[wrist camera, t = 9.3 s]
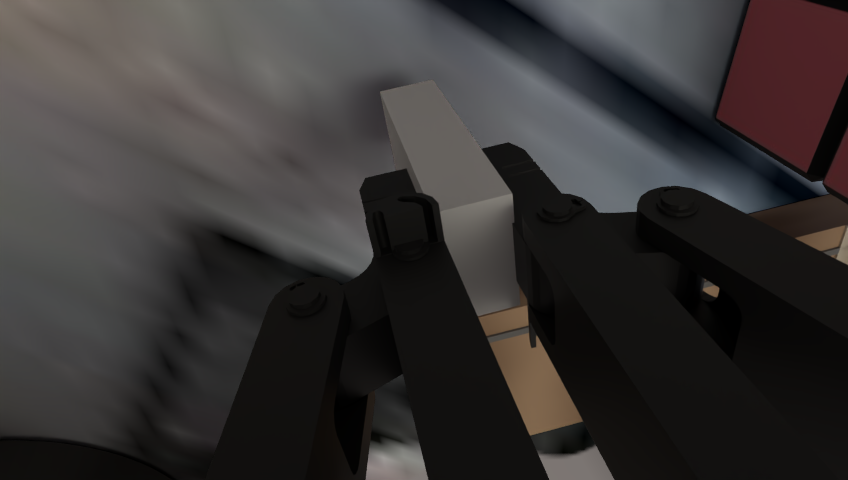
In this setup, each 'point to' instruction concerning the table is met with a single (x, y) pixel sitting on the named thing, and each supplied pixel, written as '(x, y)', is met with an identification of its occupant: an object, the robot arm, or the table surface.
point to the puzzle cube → (793, 87)
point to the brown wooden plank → (805, 221)
